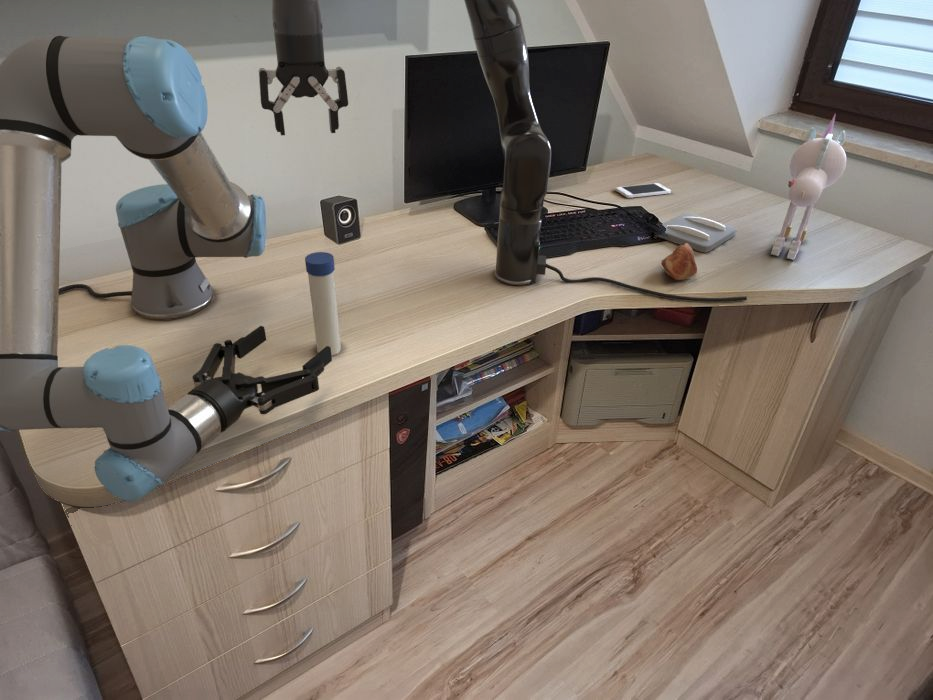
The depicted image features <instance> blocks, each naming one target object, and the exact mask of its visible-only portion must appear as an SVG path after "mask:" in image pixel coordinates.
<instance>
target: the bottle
mask: <svg viewBox="0 0 933 700" xmlns="http://www.w3.org/2000/svg"><path fill="white" fill-rule="evenodd" d="M334 271H335V270H334ZM334 271H333V272H332V273H330V274H328V275H324V276H314V275H310V274H308V273H307V278H308V285H309V292H310V293H309V294H310V302H311V309H312V310H311V311H312V319H313V328H314V335H315V344H316V352H317V354H318V353H319V352H320V351H321V350H322V349H324V348H325V347H326V346H329V347H331V356H332V357H333V356H336V355H337V354H339V353H340V352H341V351H342V347H341V335H340V326H339V315H338V305H337V294H336V293H337V292H336V284H335V281H336V280H335V272H334Z"/></svg>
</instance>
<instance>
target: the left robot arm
mask: <svg viewBox="0 0 933 700" xmlns="http://www.w3.org/2000/svg"><path fill="white" fill-rule="evenodd" d="M207 121H208V99H207V92H206V89H205V85H203V83H202V75H201V72H200V69H199V68H198V66H197V64H196V62H195V60H194V58H193V57H192V55H191V54H190V53H189V52H188V51H187V49H185V48H184V47H183V45H181V44H179V43H178V42H176V41H174V40H171V39H164V38H163V39H162V38H155V37H152V36H147V35H145V36H63V35H45V36H44V35H43V36H39V37H36V38H32V39H30V40H28V41H26V42H24V43H22V44H21V45H19V46H18V47H16V48H15V49H13V50H12V51H11V52H10V53H9V54H8V55H7V56H6V57H5V58H4V60H2V61H1V63H0V431H6V432H9V433H10V432H16V431H26V430H27V431H28V430H29V431H30V430H49V429H96V428H100V429H102V430H103V431H104V433H105V437H106V440H107V442H108V445H109V448H108V449H105V450H103V453H102V454H100V455H99V456H98V457H97V458H96V459H95V461H94V467H93V469H94V473H95V475H96V477H97V479H98V481H99V483H100V484H101V485H102V486H103V487H104V488H105V490H107V491H108V492H109V493H110V494H111V495H113V496H114V497H115V498H117V499H120V500H122V501H124V502H131V503H133V502H134V503H135V502H138V501H140V500H142V499H143V498H144V497H146V495H148V494H150V493H151V492H153V491H154V490H156V489H157V488H158V487H161V486H162V485H163V483H164V482H165V481H166V480H168V479H169V478H170V477H171V476H172V475H174V474H175V472H177V471H178V470H179V469H181V468H182V467H183V466H184V465H185V464H186V463H188V462H189V461H190V460H192V458H194V457H195V456H196V455H197V454H199V452H200V451H202V450H203V449H204V448H205V447H207V446H208V445H209V444H210V443H212V442H213V441H214V440H215V439H216V438H218V437H219V436H220V434H222V433H224V432H225V431H227V430H228V429H229V428H230V427H231V426H233V425H234V424H235V423H236V422H237V421H238V420H239V419H240V418H241V416H242V414H243V413H244V411H245V410H246V409H248V408H251V407H255V408H257V409H258V410H259V413H260V415H267V414H268V413H270V412H272V410H274V409H276V408H277V407H280V406H282V405H283V406H284V405H285V404H288V403H290V402H293V401H296V400H298V399H300V398H302V397H306V396H308V395H310V394H313V393H315V392H318V391H319V390H320V384H319V376H320V375H321V374H323V373H324V371H325V368H326V366H328V365H329V364H330V363H331V362H333V355H332V356H331V347H329V346H326V347H325V348H324V349H322V350H321V351H320V352H319V353H318V352H317V353H316V354H315V355H313V357H311V358H310V359H309V360H308V361H307V362H305V363H304V364H303V365H302V369H301V370H297V371H296V370H295V371H292V372H287V373H283V374H278V375H277V374H276V375H274V376H269V377H265V376H264V375H263V376H262V375H261V376H257V377H254V376H250V375H245V374H244V373H243V372H242V373H241V372H235V370H236V358H237V359H242V358H244V357H245V356H246V355H248V354H249V353H251V352H252V351H253V350H255V349H256V348H258V347H259V346H260V345H262V344H264V342H266V341H267V334H266V329H265V326H263V325H260V326H258V327H257V328H255V329H254V330H252V331H251V332H249V333H247V334H246V335H245V336H242V337H240V338H238V339H237V340H235V341H232V340H231V339H227V340H225V341H224V342H223V344H224V345H222V343H220V342H217V343H214V344H213V346H212V348H211V349H210V351H209V353H208V355H207V356H206V358H205V360H204V362H203V364H202V365H201V367H200V369H199V370H198V371H197V372H195V373H194V374H193V375H192V380H193V385H194V387H193V388H192V389H191V390H189V391H188V392H187V393H186V394H183V395H182V396H180V397H179V398H178V399H176V400H175V401H173V402H172V403H171V404H169V405H167V401H166V398H165V393H164V389H163V387H162V385H163V384H162V379H161V377H160V375H159V374H158V372H157V369H156V367H155V364H154V362H153V359H152V356H151V355H150V354H149V352H147V351H146V350H145V349H144V348H141V347H138V346H135V345H126V344H124V345H123V344H122V345H116V346H115V347H112V348H104V349H101V350H99V351H97V352H95V353H93V354H92V355H91V356H90V357H87V359H86V361H85V362H84V364H83V366H59V356H58V346H59V345H58V344H59V343H58V342H59V305H60V304H59V301H60V300H59V299H60V297H59V296H60V294H61V293H65V292H68V291H70V290H75V289H82V290H85V291H87V292H88V294H89V295H91V296H92V297H94V298H96V299H108V298H116V297H130V299H131V300H130V301H131V306H132V310H133V312H134V314H136V315H137V316H138V317H140V318H142V319H145V320H150V321H172V320H178V319H183V318H186V317H190V316H193V315H195V314H197V313H200V312H202V311H203V310H204V309H206V308H207V307H209V306H210V305H211V303H212V302H213V300H214V292H213V287H212V286H211V283H210V281H209V280H208V277H207V276H206V275H205V274H204V272H203V270H202V269H201V267H200V266H199V264H198V263H197V260H196V258H245V259H248V258H250V257H251V258H252V257H260V256H261V255H263V254H264V252H265V251H266V250H265V249H266V244H267V243H266V241H267V213H266V212H267V211H266V203H265V200H264V197H263V196H261V195H256V194H253V193H252V194H250V195H248V194H247V193H246V191H245V190H244V189H243V188H242V187H241V186H239V185H238V184H236V183H234V182H232V181H230V180H229V178H228V176H227V175H226V173H225V171H224V169H223V167H222V166H221V165H220V163H219V161H218V159H217V157H216V155H215V154H214V152H213V151H212V148H211V147H210V145H209V144H208V142H207V140H206V138H205V137H204V135H203V133H202V132H203V131H204V129H205V127H206V124H207ZM77 136H79V137H81V136H82V137H83V136H87V137H88V136H89V137H115V138H116V139H117V140H118V141H119V142H120V144H121V145H122V146H123V147H124V148H125V149H126V150H127V151H128V152H130V154H132V155H134V156H136V157H139V158H140V159H145V160H147V161H149V162H150V164H151V165H152V166H153V167H154V169H155V170H156V171H157V173H158V174H159V175H160V176H161V178H162V179H163V181H164V182H165V184H163V183H161V184H154V185H150V186H143V187H141V188H138V189H135V190H132V191H130V192H128V193H126V194H124V195H123V196H121V197H120V198H119V200H117V202H116V205H115V212H116V218H117V220H118V221H117V222H118V224H117V226H118V227H119V229H120V233H121V236H122V240H123V242H124V246H125V249H126V253H127V257H128V260H129V263H130V267H131V269H132V289H131V290H129V291H127V290H126V291H114V292H113V291H112V292H107V293H99V292H96V291H94V290H93V288H92V287H91V286H89V285H87V284H84V283H74V284H73V283H72V284H68V285H65V286H63V287H60V259H61V258H60V253H61V251H60V250H61V249H60V248H61V205H62V168H63V167H62V165H63V163H64V162H65V161H67V160H68V159H70V158H71V156H72V141H73V139H74V138H75V137H77ZM222 362H223V366H222V369H221V370H222V372H221V373H222V374H221V376H218V377H215V376H216V374H217V372H218V370H219V368H220V366H221V364H222ZM258 385H260V388H261V391H260V392H259V386H258Z"/></svg>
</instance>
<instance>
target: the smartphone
mask: <svg viewBox="0 0 933 700" xmlns="http://www.w3.org/2000/svg"><path fill="white" fill-rule="evenodd" d="M615 192H617V193H619V194H620V195H622V196H624V197H625V198H628V199H630V198H639V197H640V198H641V197H649V196H656V195H657V196H659V195H665V194H671V192H672V190H671V189H670V188H668V187H666V186H664V185H663V184H661V183H658V182H654V183H645V184H644V183H643V184H636V185H634V184H633V185H626V186H617V187H615Z"/></svg>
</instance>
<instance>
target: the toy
mask: <svg viewBox="0 0 933 700" xmlns="http://www.w3.org/2000/svg"><path fill="white" fill-rule="evenodd" d="M836 116H837V115H836V112H835V113H834V115H833V116H832V119H831V120H830V122H829V124H828V126H827V128H826V130H825V131H824V133H823V134H822V136H821V137H817V138H816V136H817V128H815V127H810V129H809V130H808V133H807V135H806V136H805V142H804V143H802V144H801V145H800V146H798V148H797V149H796V150H795V151H794V152H793V154H792V156H791V159H790V162H789V173H790V175H791V178H792V180H789V181H788V188H789V189H788V198H789V201H790V202H789V205H788V209H787V212H786V215H785V218H784V221H783V223H782V227H781V230H780V233H779V235H777V236H776V239H775V241H774V243H773V246H772V249H771V253H770V255H772V256H776V257H779V255H780V253H781V252H782V249H783V248H784V246H785V242H786V240H789V238H790V234H791V232H792V227H793V225H792V223H793V219H794V217H795V213H796V211H797V208H798V207H801V208H802V207H804V208H805V210H804V213H803V216H802V219H801V222H800V225H799V227H798V230H797V233H796V237H795V239H793V240H792V242H791V245H790V247H789V250H788V253H787V256H786V259H788V260H792V261H794V260H795V259H796V257H797V255H798V253H799V251H800V249H801V245H802V244H803V243H804V240H805V238H806V235H807V231H808V228H807V227H808V224H809V221H810V218H811V215H812V212H813V209H814V207H815V204H816V202H817V201H818V200H819V199H820V197H821V195H822V193H823V191H824V189H827V188H828V187H831V186H832V185H834V184H835V183H836V182H837V181H838V180H840V178H841V177H842V176H843V174H844V173H845V170H846V168H847V167H846V166H847V154H846V152H845V150H844V148H843V145H844V143H845V141H846V140H847V134H846V131H845V130H840V131H839V132H838V133H837V135H836V137H835V139H833V129H834V125H835V120H836ZM841 135H842V138H841V141H840V137H841Z"/></svg>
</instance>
